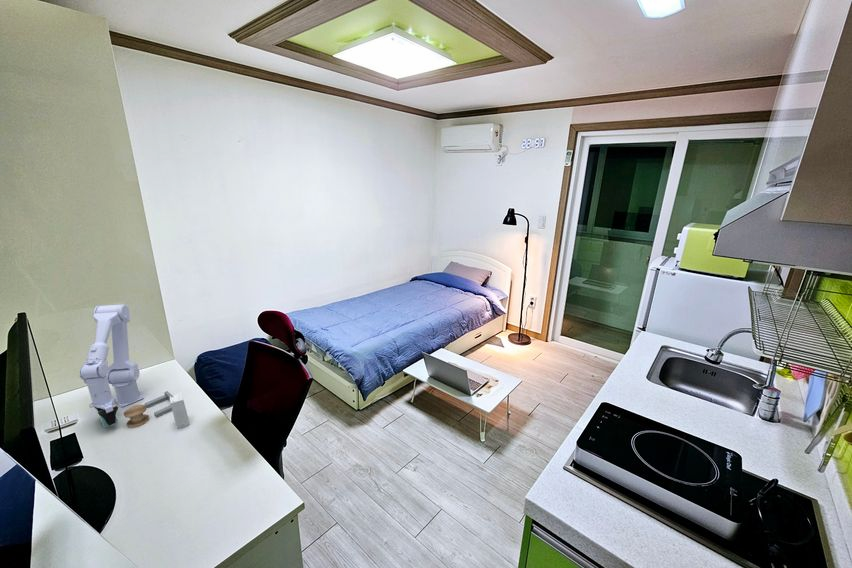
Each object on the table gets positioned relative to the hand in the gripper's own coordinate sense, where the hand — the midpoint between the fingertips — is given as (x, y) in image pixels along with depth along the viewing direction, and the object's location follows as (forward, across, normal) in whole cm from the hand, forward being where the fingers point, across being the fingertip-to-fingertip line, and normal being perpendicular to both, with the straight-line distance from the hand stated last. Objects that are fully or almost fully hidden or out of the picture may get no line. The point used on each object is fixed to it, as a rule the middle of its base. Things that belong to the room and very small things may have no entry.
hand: (108, 420), depth 138 cm
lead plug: (+2, 0, 0) cm, 2 cm away
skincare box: (+2, +23, +17) cm, 29 cm away
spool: (+2, +8, +7) cm, 11 cm away
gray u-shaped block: (+2, +5, +16) cm, 17 cm away
